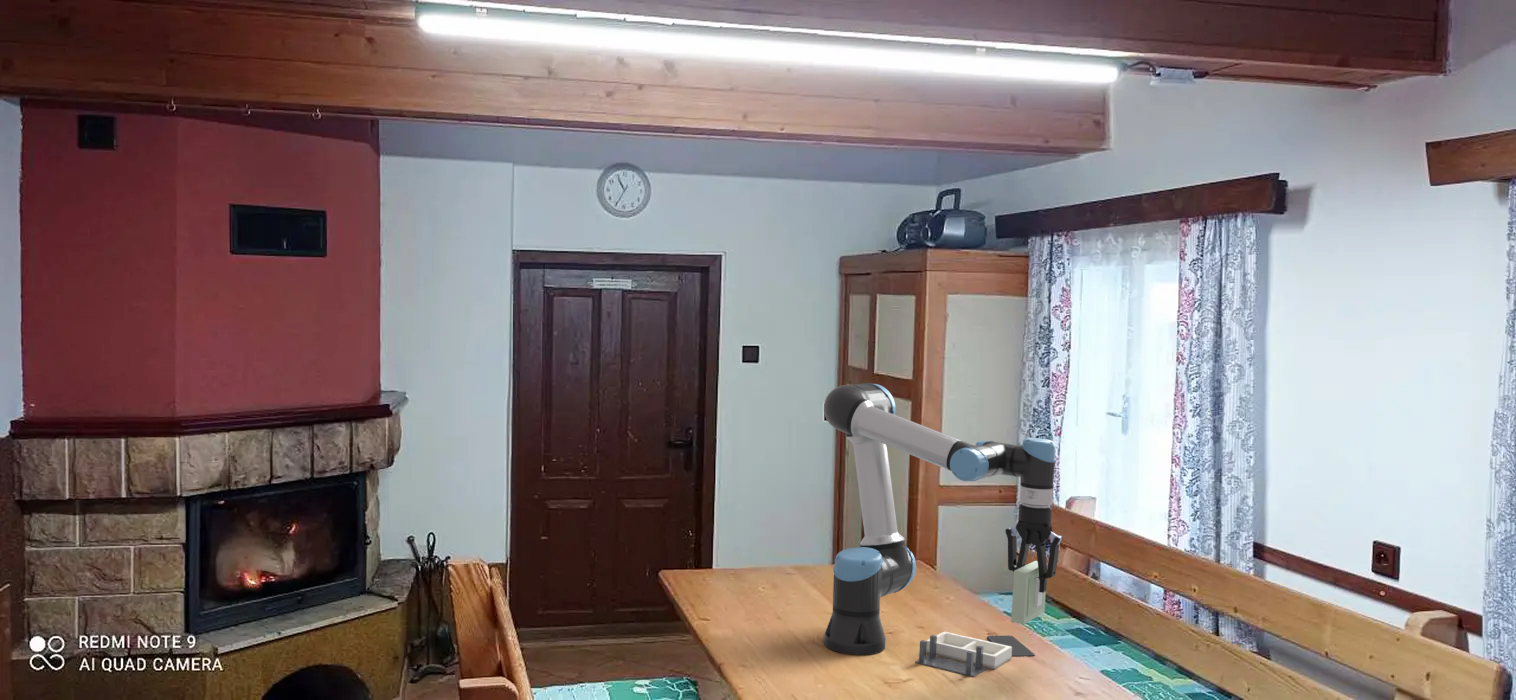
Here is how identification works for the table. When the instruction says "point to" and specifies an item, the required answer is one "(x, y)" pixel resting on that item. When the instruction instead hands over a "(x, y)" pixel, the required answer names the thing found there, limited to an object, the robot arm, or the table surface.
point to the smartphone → (1012, 645)
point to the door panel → (1026, 594)
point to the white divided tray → (971, 649)
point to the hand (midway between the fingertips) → (1029, 603)
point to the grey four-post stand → (951, 664)
